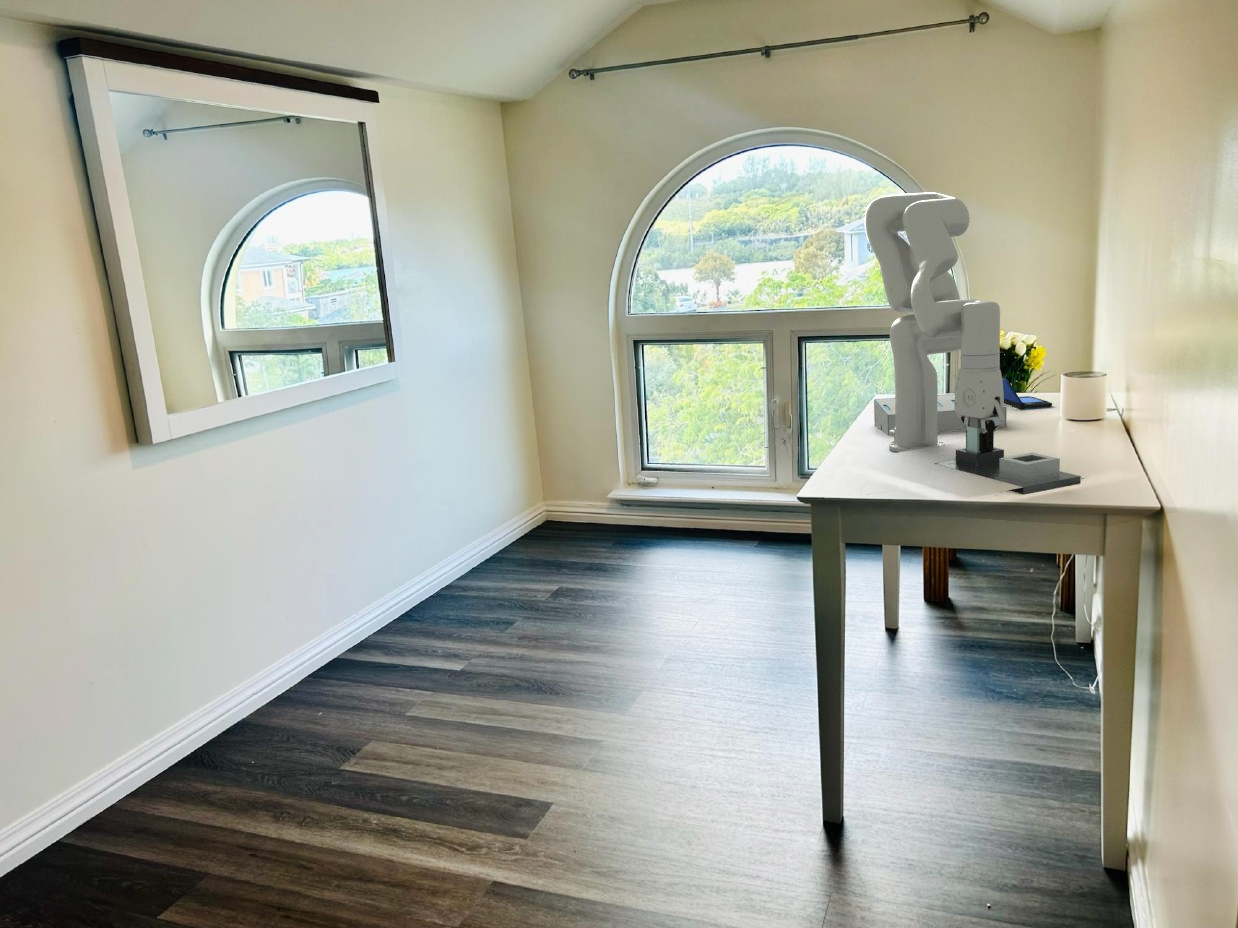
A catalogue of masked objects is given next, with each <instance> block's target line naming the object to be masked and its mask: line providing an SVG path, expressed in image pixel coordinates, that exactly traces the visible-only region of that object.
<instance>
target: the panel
mask: <svg viewBox="0 0 1238 928" xmlns="http://www.w3.org/2000/svg"><path fill="white" fill-rule="evenodd" d="M1060 461H1061V458H1059V457H1054V456H1051V455H1046V454H1042V453H1041V454H1040V453H1035V452H1028V453H1022V454H1017V455H1011V456H1005V449H1002V448H998V447H994V449H993V450H992V451H986V452H980V453H974V452H970V451H967V448H966V447H963V448H957V449H955V459H951V460H945V461H940V462H934V463H933V465H938V466H941V467H945V468H949V469H953V470H957V471H960V472H965V473H967V474H970V475H971V474H972V475H975V476H980V477H984V478H987V479H992V480H993V481H994V480H995V481H999V482H1002V483H1007V484H1009V485H1014V486H1018V488H1017V487H1016V488H1012V489H1008V490H1007V491H1009V492H1013V493H1016V494H1020V495H1023V496H1024V495H1029V494H1033V493H1038V492H1044V491H1049V490H1054V489H1060V488H1065V487H1070V486H1076V485H1080V484H1081V482H1082V480H1081V478H1082V476H1081V475H1077V474H1074V473H1068V472H1065V471H1061V470H1060V469H1061V467H1060V466H1061V462H1060Z"/></svg>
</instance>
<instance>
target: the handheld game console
mask: <svg viewBox="0 0 1238 928" xmlns="http://www.w3.org/2000/svg"><path fill="white" fill-rule="evenodd" d="M1002 382H1003V393H1004V405H1005V406H1011V407H1012V408H1015V409H1018V410H1021V411H1022V410H1034V409H1036V410H1037V409H1047V408H1052V407H1053V403H1052V402H1050V401H1048V400H1044V399H1041V398H1038V397H1034V396H1029V395H1025V396H1019V395H1018V394H1017V392H1016V391H1015V389H1014V386H1012V384H1011V382H1010V381H1009V380H1008V378H1005V377H1002Z"/></svg>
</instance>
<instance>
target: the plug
mask: <svg viewBox="0 0 1238 928" xmlns="http://www.w3.org/2000/svg"><path fill="white" fill-rule="evenodd" d="M988 423H989V420H988V421H987V424H988ZM980 433H982V430H981V419H976V418H971V417H970V426H968V427H967V451H970V452H974V453H980V450H979V434H980Z"/></svg>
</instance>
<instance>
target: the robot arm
mask: <svg viewBox="0 0 1238 928" xmlns="http://www.w3.org/2000/svg"><path fill="white" fill-rule="evenodd" d="M969 226H970V213H969V209H968V207H967V206H966V204H965V203H964V201H962V200H960V199H959V198H957V197H955V196H950V195H946V194H942V193H938V192H932V191H930V192H914V193H912V192H911V193H897V194H889V195H883V196H880V197H877V198H875V199H873V200H872V201H870V203H869V204H868V205H867V207H866V209H865V214H864V230H865V236H866V238H867V241H868V243H869V246H870V247H871V249H872V252H873V253H874V256H875V257H876V261H877V262H878V266H879V271H880V274H881V280H882V283H883V286H884V291H885V294H886V299H887V302H888V305H889V306H890V309H892V310H893V311H894V312H896V313H912V312H913V314H908V315H903V316H901V317H898V318H897V319H896V320H894V321H893V323H892V324H891V327H890V330H889V341H890V342H889V343H890V345H891V350H892V356H893V366H894V395H895V397H894V398H895V417H896V427H895V428H894V430H890V431H889V434H890V435H889V436H893V441H891V442H890V443H889V444H888V447H889V450H891V451H892V452H896V453H903V452H908V451H914V450H921V449H926V448H932V447H938V446H944V445H945V442H944V441H942V440H939V438H938V437H939V436H938V434H939V432H938V395H939V394H938V389H939V388H938V385H939V384H938V372H937V369H936V367H935V366H934V364H933V363H932V362H931V360H930V359H929V355H935V354H936V355H937V354H938V355H939V354H945V353H952V352H954V353H955V352H957V351H959V350H960V367H959V368H958V371H957V375H956V380H955V389H954V391H955V392H954V394H955V412H956V414H957V416H958V417H959V418H960V419H961V420H962V422H963V424H964V429H965V430H964V431H965V448H967V427H968V426H970V417H971V418H976V419H981V430H982V433H980V434H979V450H980V452H986V451H992V450H993V449H994V448H995V445H994V433H995V432H996V431H997V427H998V426H999V425H1000V424H1002V423H1003V422H1005V418H1004V415H1003V409H1004V405H1005V404H1004V393H1003V382H1002V378H1003V376H1002V371H1001V370H1002V369H1000V366H1001V364H1000V363H1001V362H1000V361H1001V360H1000V359H1001V358H1000V356H1001V355H1000V353H1001V352H1000V348H1001V347H1000V344H1001V341H1000V340H1001V308H1000V305H999V304H998V302H995V301H988V300H987V301H983V300H980V299H976V298H967V299H966V298H965V299H961V298H960V297H961V296H960V293H959V290H958V286H957V282H956V280H955V278H954V277H953V275H952V274H951V273H950V272H949V271H950V270H951V269H953V268H954V267H955V265H956V263H957V262H958V260H959V253H958V250H957V248H956V246H955V244H954V243H955V242H954V241H953V238H955V237H960V236H962V235H963V234H965V233H966V231H967V230H968V228H969ZM899 232H905V235H906V238H907V240H908V241H907V240H906V239H905V238H904V237H901V235H900V234H899ZM952 237H953V238H952ZM988 420H989V423H988V424H987V421H988Z"/></svg>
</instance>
